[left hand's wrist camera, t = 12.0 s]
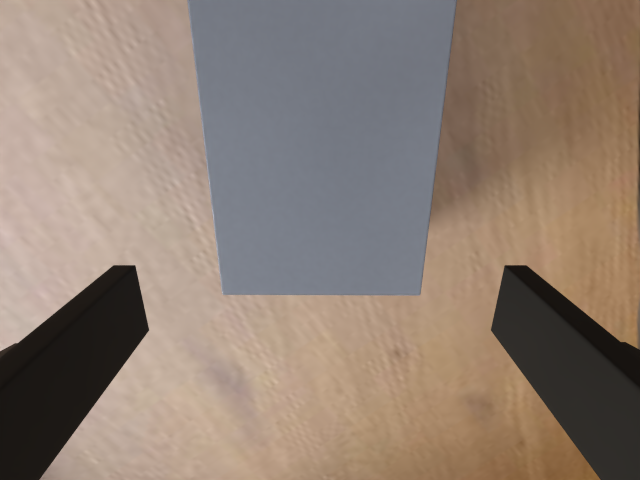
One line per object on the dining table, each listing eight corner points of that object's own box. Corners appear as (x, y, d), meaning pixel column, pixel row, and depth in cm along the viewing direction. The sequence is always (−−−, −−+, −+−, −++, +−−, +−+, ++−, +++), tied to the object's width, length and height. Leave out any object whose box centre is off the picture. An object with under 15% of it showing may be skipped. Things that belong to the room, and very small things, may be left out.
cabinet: (225, -70, 20) (166, -172, 13) (418, -70, 20) (478, -172, 13) (250, 238, 28) (221, 295, 20) (392, 238, 28) (420, 296, 20)
